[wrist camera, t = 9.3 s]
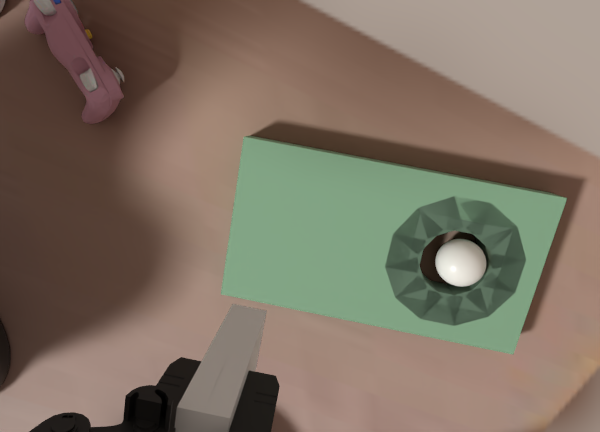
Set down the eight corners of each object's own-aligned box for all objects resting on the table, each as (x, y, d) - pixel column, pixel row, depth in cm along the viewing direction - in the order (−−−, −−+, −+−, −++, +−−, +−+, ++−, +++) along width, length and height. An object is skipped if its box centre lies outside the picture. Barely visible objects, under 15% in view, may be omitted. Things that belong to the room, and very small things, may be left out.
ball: (456, 273, 38) (487, 296, 34) (420, 271, 36) (449, 295, 33) (470, 233, 36) (504, 252, 33) (433, 229, 35) (465, 249, 31)
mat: (228, 283, 39) (220, 294, 36) (250, 135, 36) (243, 136, 33) (501, 339, 38) (513, 354, 35) (550, 192, 35) (567, 198, 32)
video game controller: (138, 109, 38) (133, 86, 31) (90, 131, 36) (74, 112, 30) (78, 6, 36) (59, -41, 29) (25, 26, 35) (-7, -19, 28)
